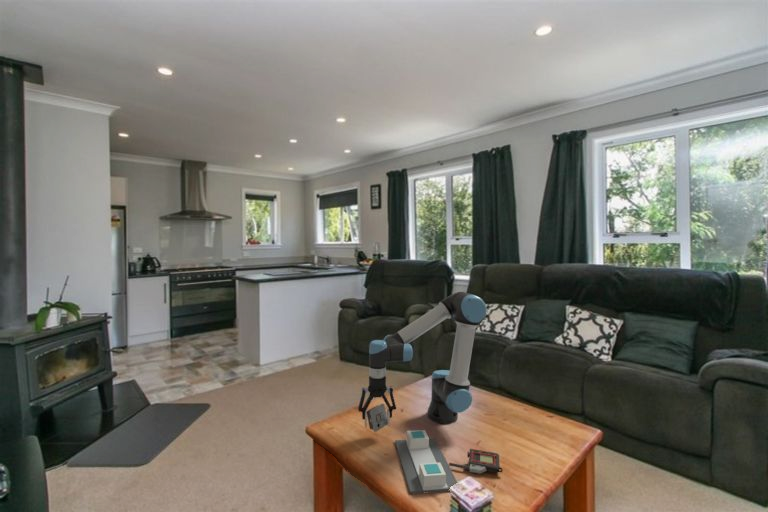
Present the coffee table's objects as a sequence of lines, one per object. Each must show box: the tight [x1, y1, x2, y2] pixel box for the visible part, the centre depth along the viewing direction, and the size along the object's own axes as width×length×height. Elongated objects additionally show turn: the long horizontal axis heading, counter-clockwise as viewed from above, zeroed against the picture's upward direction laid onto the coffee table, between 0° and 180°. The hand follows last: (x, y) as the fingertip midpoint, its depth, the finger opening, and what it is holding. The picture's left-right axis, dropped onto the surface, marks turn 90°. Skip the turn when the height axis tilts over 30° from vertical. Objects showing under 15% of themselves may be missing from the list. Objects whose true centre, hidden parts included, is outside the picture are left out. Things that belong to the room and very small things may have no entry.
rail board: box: [394, 429, 458, 494], centre depth 140 cm, size 18×32×6 cm, turn 8°
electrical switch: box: [366, 403, 388, 433], centre depth 158 cm, size 9×5×9 cm, turn 141°
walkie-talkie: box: [448, 448, 503, 475], centre depth 139 cm, size 9×4×20 cm
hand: (377, 425), depth 158 cm, fingers closed on electrical switch, 9 cm apart
